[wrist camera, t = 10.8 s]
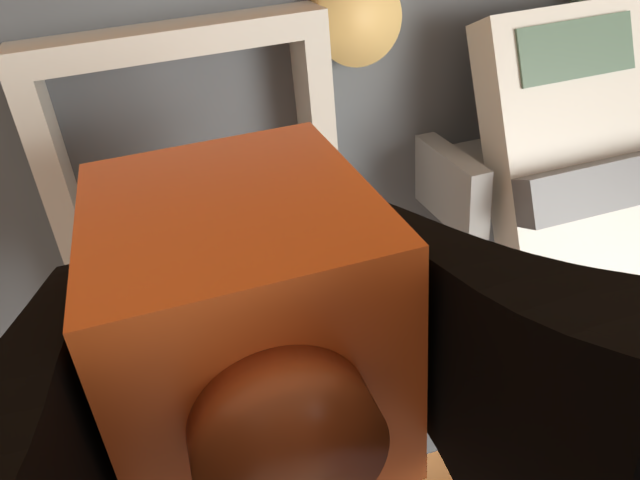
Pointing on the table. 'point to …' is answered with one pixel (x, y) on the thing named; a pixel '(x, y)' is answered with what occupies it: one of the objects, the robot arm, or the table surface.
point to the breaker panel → (233, 101)
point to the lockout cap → (249, 314)
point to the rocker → (562, 129)
